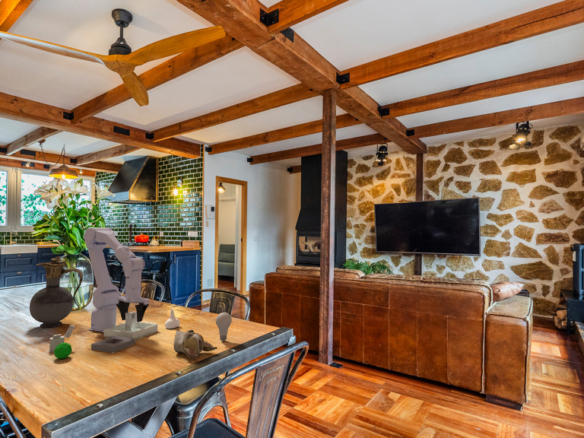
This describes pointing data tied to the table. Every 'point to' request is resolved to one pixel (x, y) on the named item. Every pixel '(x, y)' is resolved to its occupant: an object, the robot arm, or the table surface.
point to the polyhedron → (62, 350)
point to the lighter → (59, 338)
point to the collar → (113, 344)
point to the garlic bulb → (172, 321)
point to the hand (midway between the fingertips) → (132, 320)
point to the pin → (131, 322)
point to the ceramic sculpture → (191, 343)
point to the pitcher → (53, 296)
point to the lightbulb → (223, 324)
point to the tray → (142, 331)
